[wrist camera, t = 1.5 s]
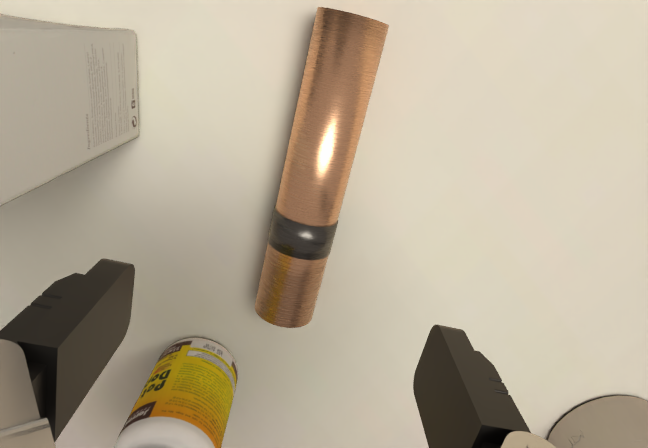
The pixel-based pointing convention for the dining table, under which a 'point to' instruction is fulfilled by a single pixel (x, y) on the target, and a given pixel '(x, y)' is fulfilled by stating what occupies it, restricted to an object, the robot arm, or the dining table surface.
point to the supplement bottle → (184, 399)
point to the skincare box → (62, 99)
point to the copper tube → (318, 162)
